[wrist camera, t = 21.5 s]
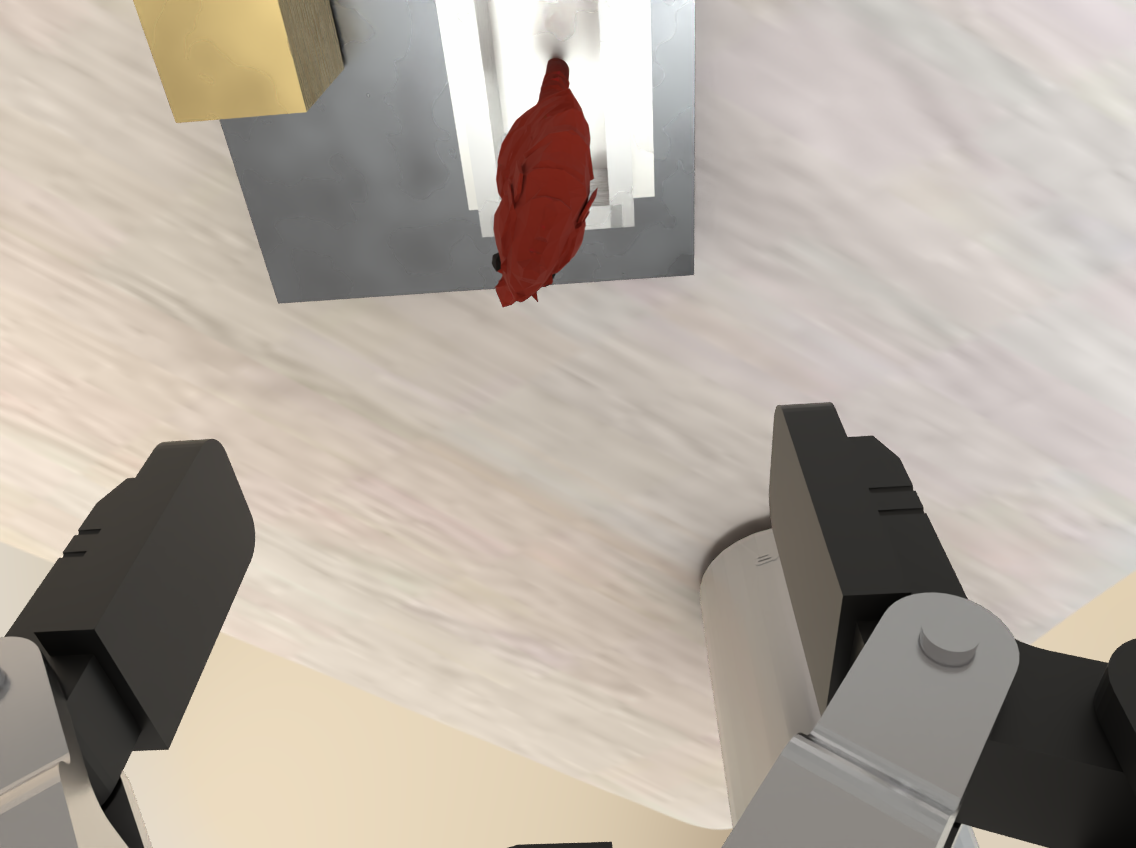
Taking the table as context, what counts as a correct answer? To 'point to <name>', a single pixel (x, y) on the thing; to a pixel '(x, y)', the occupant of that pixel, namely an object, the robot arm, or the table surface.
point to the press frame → (471, 145)
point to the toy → (542, 190)
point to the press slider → (241, 55)
